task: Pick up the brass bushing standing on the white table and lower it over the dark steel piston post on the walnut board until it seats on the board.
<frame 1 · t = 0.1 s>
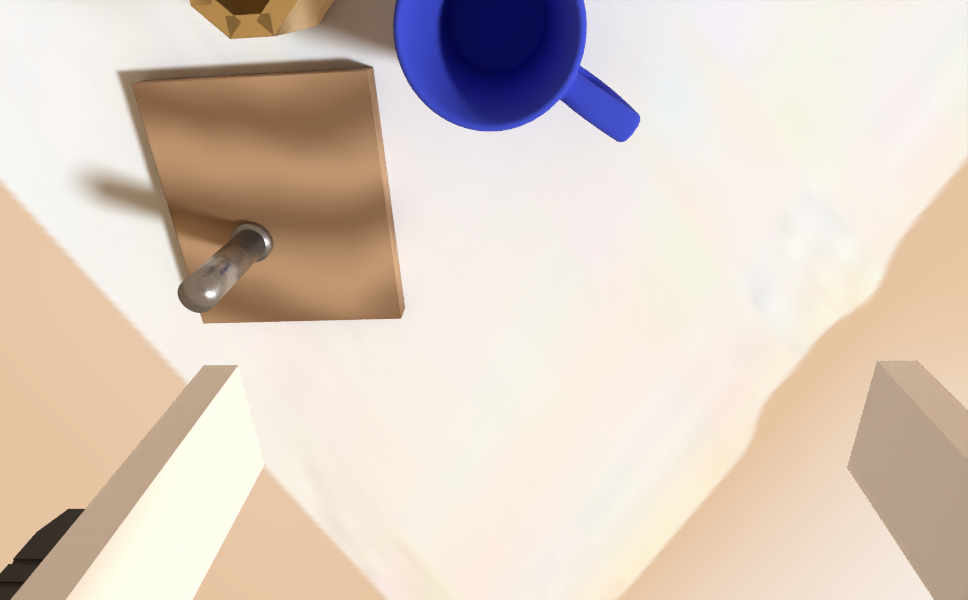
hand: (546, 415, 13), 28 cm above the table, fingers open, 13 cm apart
board: (284, 202, 41), on the table
mug: (526, 39, 36), on the table
post: (261, 232, 42), resting on board
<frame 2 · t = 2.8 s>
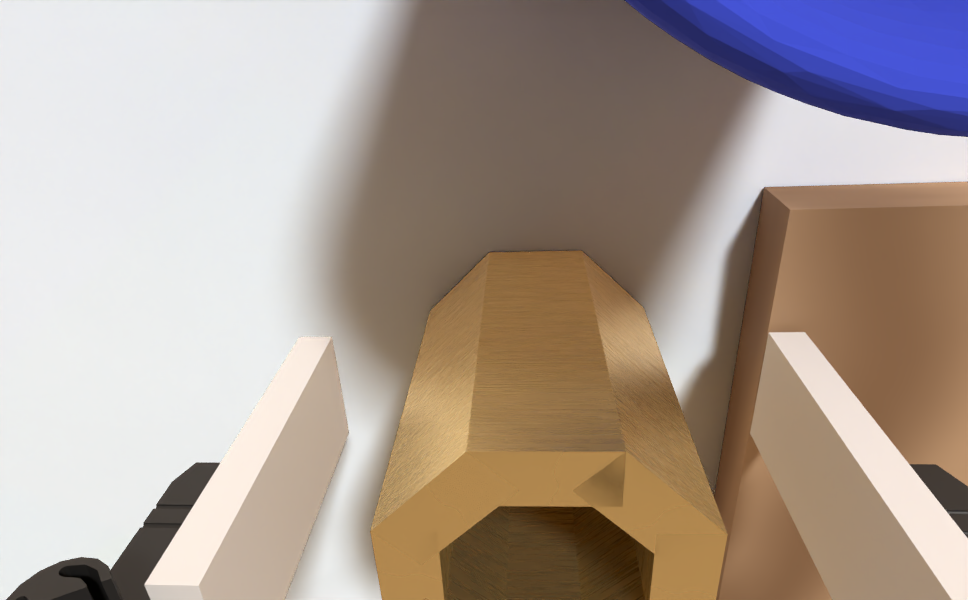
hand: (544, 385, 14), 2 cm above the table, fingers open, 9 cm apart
bushing: (536, 346, 16), on the table
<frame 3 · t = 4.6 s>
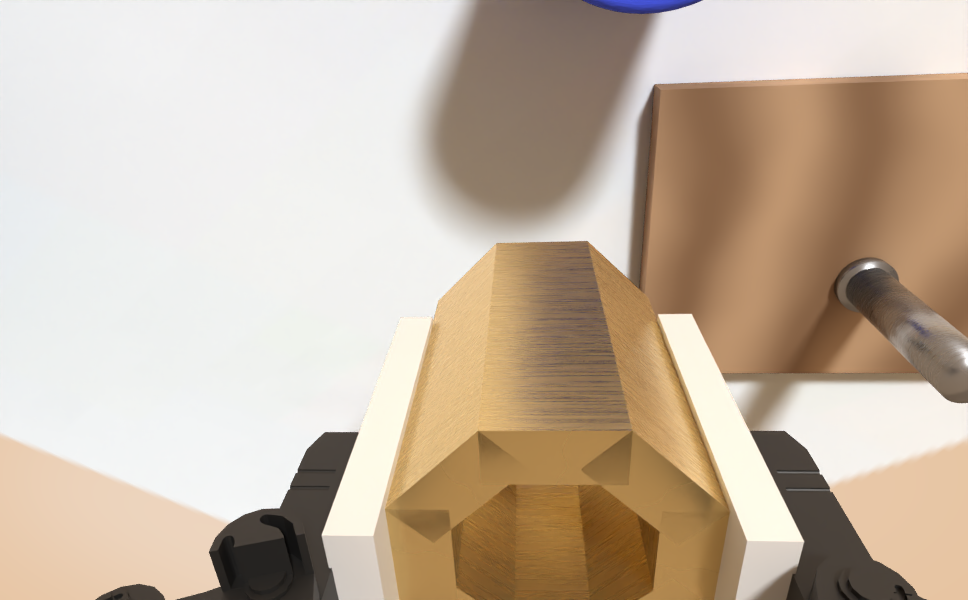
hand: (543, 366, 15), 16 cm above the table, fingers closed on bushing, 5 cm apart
bushing: (542, 336, 16), point 15 cm above the table, touching gripper
board: (814, 232, 30), on the table
post: (848, 269, 31), resting on board
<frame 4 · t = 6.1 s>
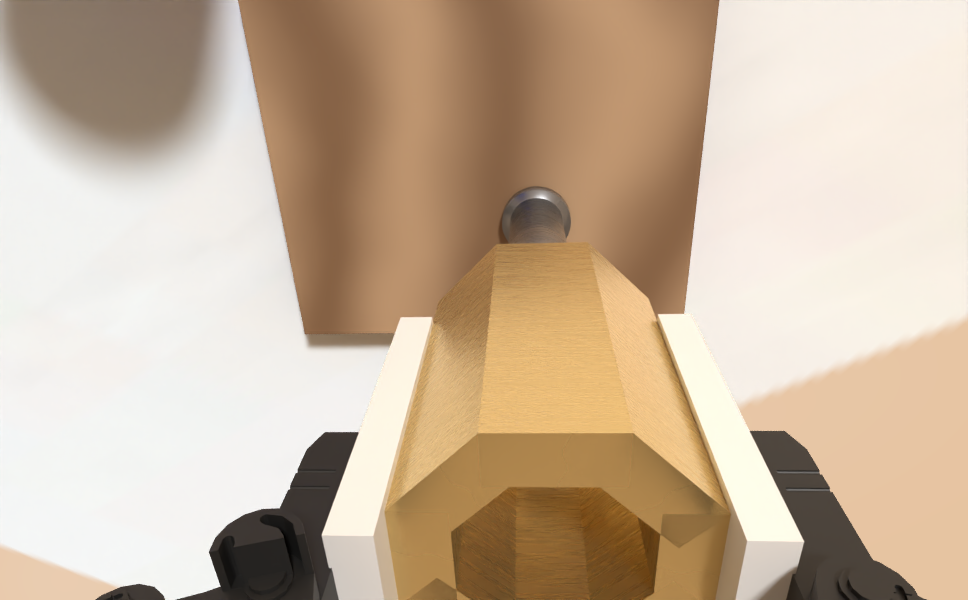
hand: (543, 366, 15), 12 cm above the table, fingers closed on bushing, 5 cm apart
bushing: (542, 337, 16), point 11 cm above the table, touching gripper
board: (484, 159, 25), on the table
post: (535, 206, 26), resting on board
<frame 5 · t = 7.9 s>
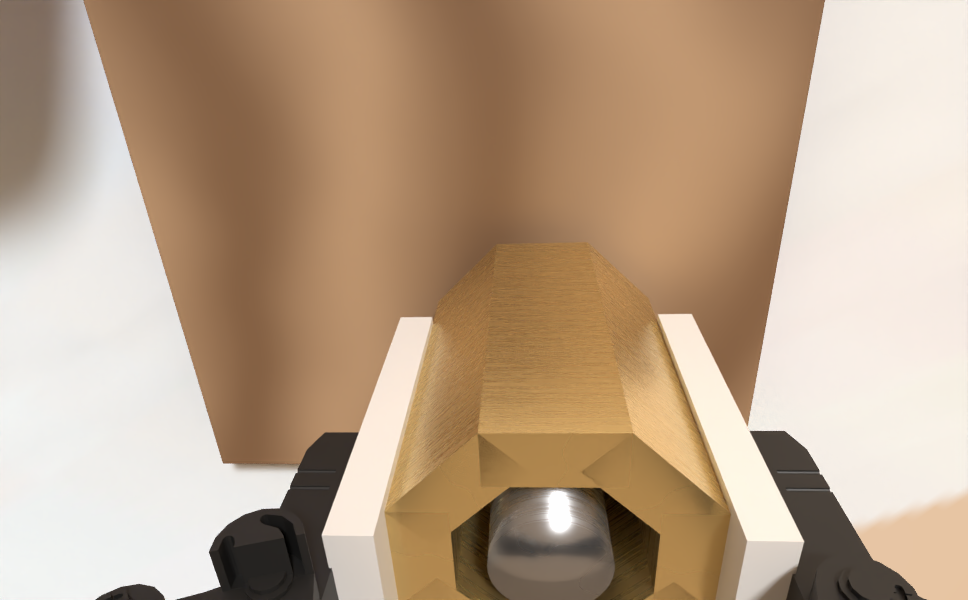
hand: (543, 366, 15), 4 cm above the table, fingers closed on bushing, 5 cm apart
bushing: (542, 337, 16), point 2 cm above the table, touching gripper
board: (465, 233, 18), on the table
post: (537, 296, 18), resting on board
when the fingers open (3 cm above the table, at t = 8.5 s): bushing stays where it is, resting on board.
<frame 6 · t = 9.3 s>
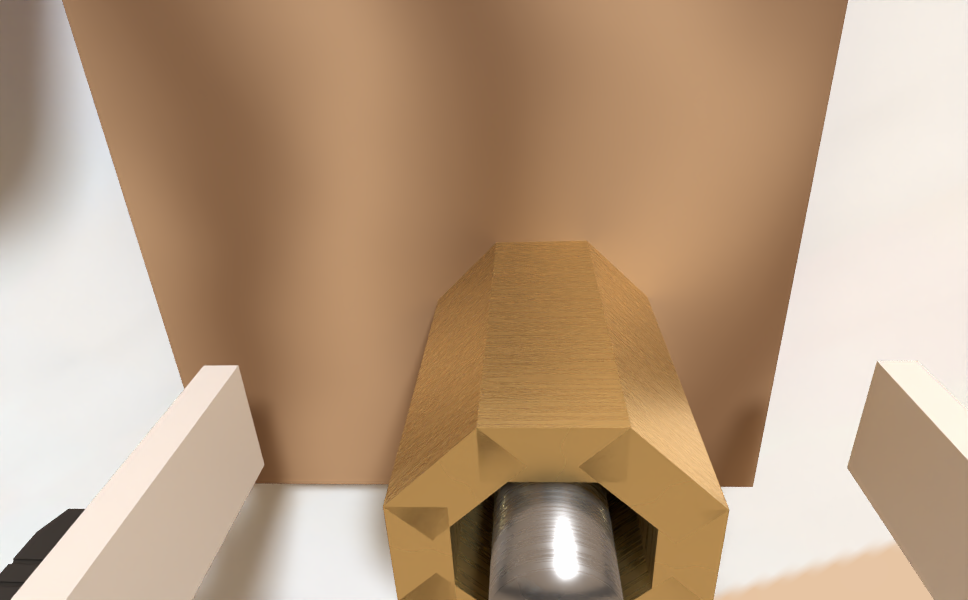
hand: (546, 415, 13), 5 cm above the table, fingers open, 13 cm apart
bushing: (541, 335, 16), point 1 cm above the table, touching board
board: (465, 246, 17), on the table
post: (541, 311, 18), resting on board
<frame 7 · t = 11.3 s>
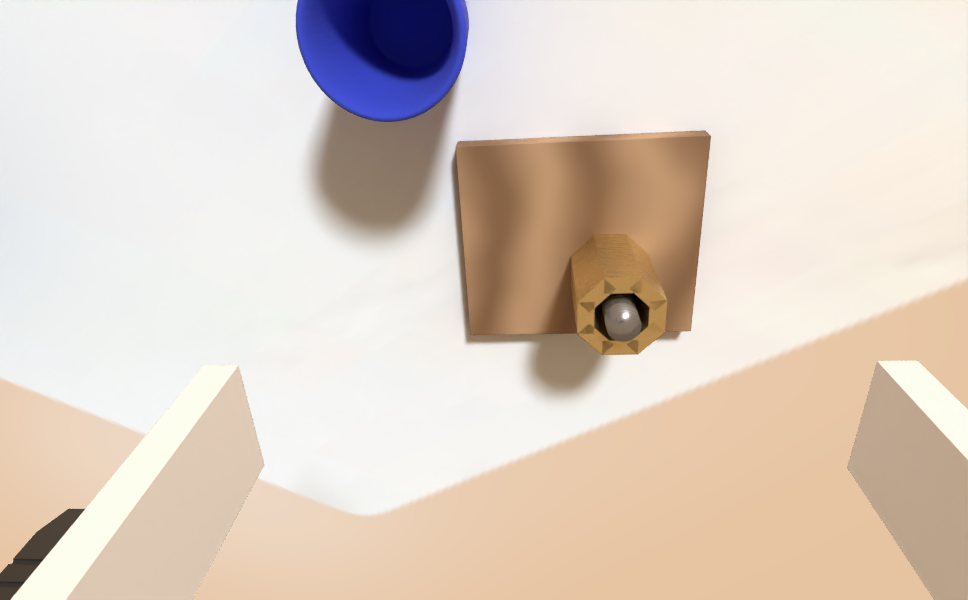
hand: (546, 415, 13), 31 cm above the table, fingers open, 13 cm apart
bushing: (608, 269, 44), point 1 cm above the table, touching board
board: (578, 236, 44), on the table
post: (606, 261, 45), resting on board
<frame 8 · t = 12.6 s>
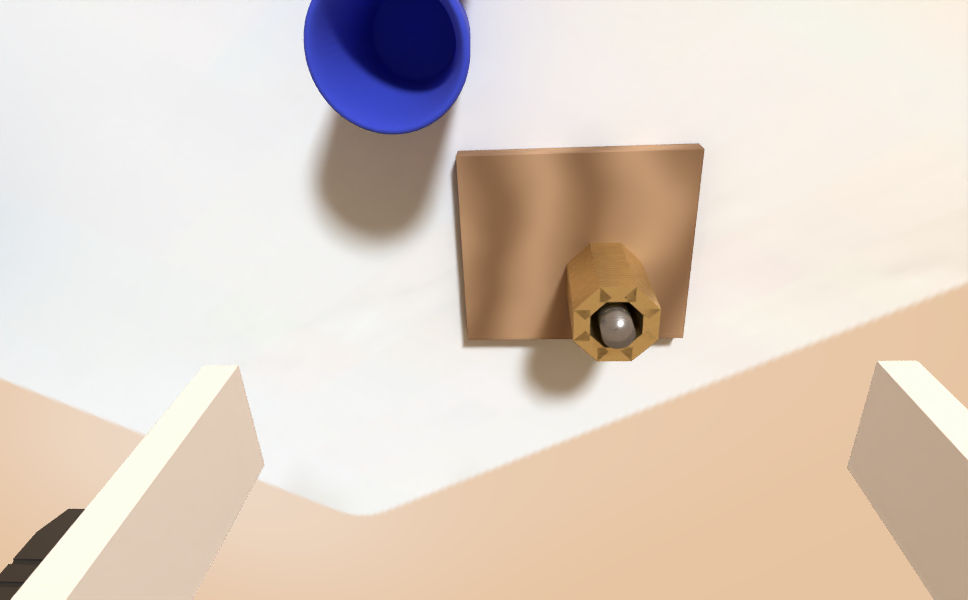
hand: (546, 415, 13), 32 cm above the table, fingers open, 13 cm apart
bushing: (603, 276, 45), point 1 cm above the table, touching board
board: (574, 244, 45), on the table
mug: (433, 5, 39), on the table
post: (601, 269, 46), resting on board
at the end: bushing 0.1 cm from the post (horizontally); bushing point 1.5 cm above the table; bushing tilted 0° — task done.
